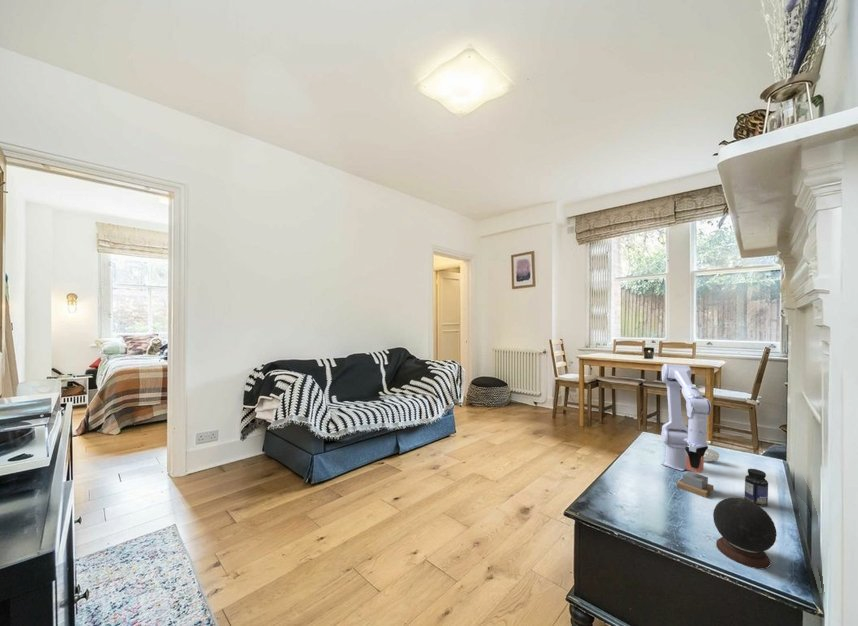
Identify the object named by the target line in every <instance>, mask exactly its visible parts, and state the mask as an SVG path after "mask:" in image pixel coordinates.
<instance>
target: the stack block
mask: <svg viewBox="0 0 858 626" xmlns="http://www.w3.org/2000/svg"><path fill="white" fill-rule="evenodd" d="M704 462H705V461H704V457H701V460H700V464H699V467H698V469H696V468H693V467H691V465H690V460H689V456H688V455H687V461H686V469H685V470H687V471H690V472H693V473H695V472H696V473H697V474H702V472H703V471H704V464H705V463H704Z"/></svg>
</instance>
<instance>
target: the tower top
mask: <svg viewBox="0 0 858 626" xmlns="http://www.w3.org/2000/svg"><path fill="white" fill-rule="evenodd" d="M682 478H683V483H685V484H688V485H691V486H693V487H696V488H699V489H703V488H704V487H706V486H707V485H708V484H709V476H705V475H702V474H700V473H697V472H696V473H695V472H694V471H691V470H688V471H687V472H685V473H684V474H683V475H682Z"/></svg>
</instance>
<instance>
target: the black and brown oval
mask: <svg viewBox="0 0 858 626" xmlns="http://www.w3.org/2000/svg"><path fill="white" fill-rule="evenodd" d="M712 516H713V523H714V526H715V527H716V529H717V532H718V533H719V534H720V536H721V537H720V538H718V539H717V540H716V548H717V549H718V551H719V552H720V553H721V554H722V555H724V556H725V557H726V558H728V559H730V560H731V561H733V562H735V563H738V564H740V565H743V566H745V567H748V568H752V567H756V568H755V569H759V568H764V569H767V568H766V567H768V566H769V565H770V566H771V560H770V558H769V556H768V555H767V553H766V551H768V550H770V549H771V548H772V547H773V546H774V545H775V543H776V540H777V529H776V526H775V525H776V524H775V523H774V520H773V519H772V517H771V516H770V514H768V512H767V511H766V510H765V509H764V508H763V507H762V506H759V505H757V504H755V503H753V502H751V501H749V500H746V499H745V498H742V497H735V496H734V497H727V498H723V499H722V500H720V501H719V502H718V503H717V504H716V505H715V507H714V509H713V513H712ZM770 566H769V567H770ZM769 567H768V568H769Z"/></svg>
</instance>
